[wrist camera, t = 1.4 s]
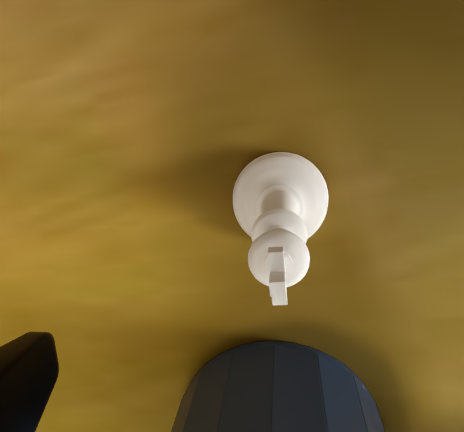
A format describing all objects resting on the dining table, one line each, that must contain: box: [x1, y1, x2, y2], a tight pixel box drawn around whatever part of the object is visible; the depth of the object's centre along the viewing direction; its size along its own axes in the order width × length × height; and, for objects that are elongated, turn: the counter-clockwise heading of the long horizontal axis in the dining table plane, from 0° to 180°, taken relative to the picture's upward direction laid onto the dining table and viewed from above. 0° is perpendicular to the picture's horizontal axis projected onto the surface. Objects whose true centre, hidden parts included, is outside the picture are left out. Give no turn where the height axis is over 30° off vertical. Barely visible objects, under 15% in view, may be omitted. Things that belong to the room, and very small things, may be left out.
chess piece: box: [233, 152, 329, 305], centre depth 15 cm, size 5×5×10 cm
